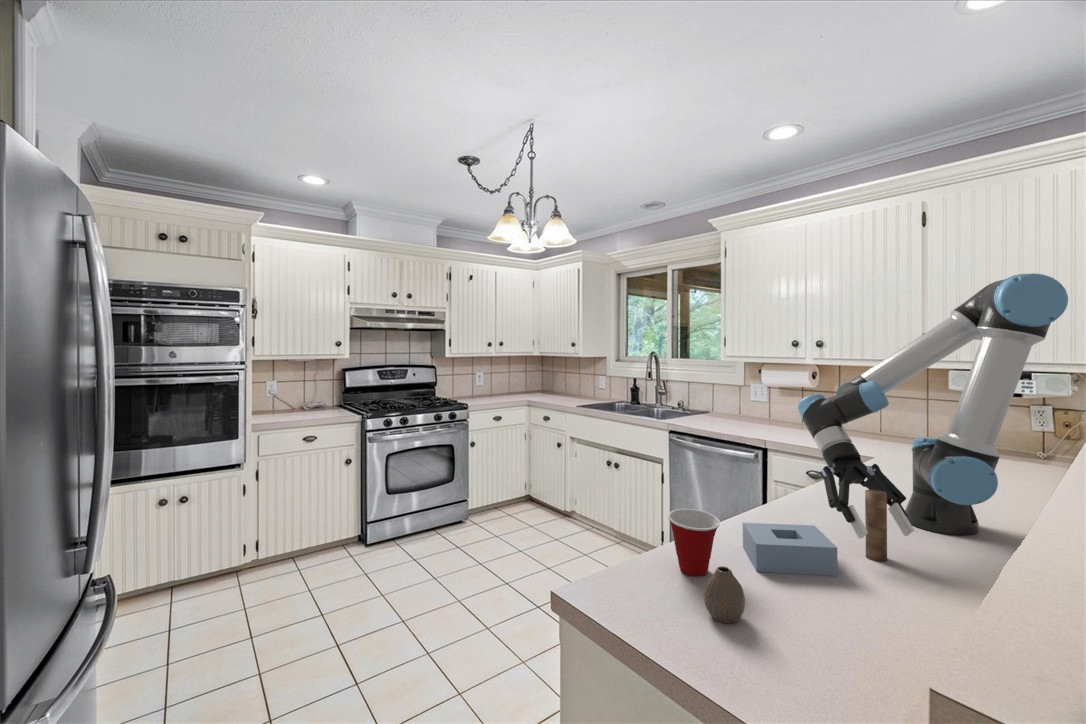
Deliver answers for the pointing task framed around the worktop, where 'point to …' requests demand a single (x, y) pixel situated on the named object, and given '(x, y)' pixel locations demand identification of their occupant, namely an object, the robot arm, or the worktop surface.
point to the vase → (724, 596)
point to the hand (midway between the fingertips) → (886, 534)
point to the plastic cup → (693, 539)
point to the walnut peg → (876, 525)
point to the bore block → (789, 549)
